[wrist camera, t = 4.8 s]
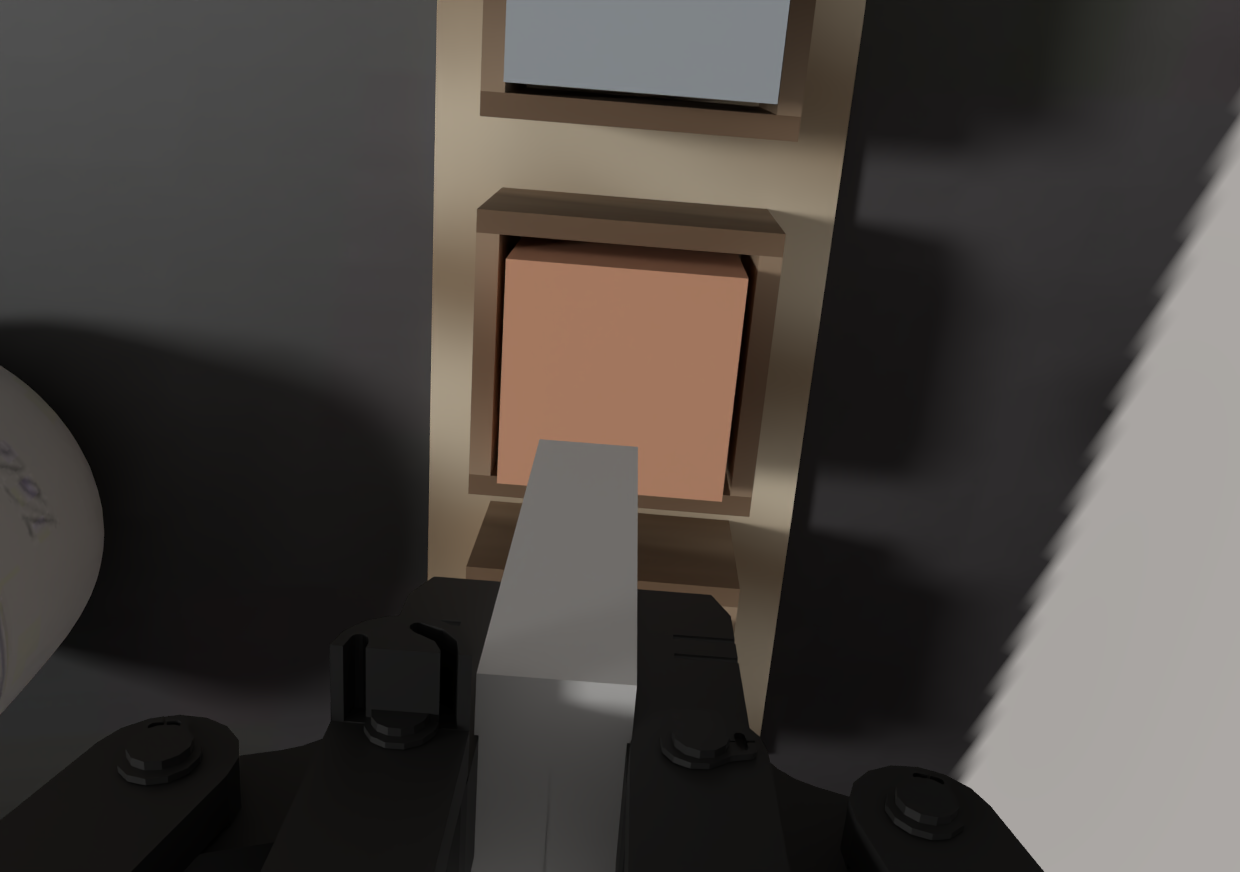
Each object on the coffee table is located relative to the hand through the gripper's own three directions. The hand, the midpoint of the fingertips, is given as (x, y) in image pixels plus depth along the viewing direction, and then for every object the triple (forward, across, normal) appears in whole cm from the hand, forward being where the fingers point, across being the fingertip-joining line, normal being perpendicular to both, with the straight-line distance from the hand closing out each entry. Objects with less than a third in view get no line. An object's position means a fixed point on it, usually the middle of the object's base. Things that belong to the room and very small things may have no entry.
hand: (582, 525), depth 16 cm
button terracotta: (+11, 0, 0) cm, 11 cm away
